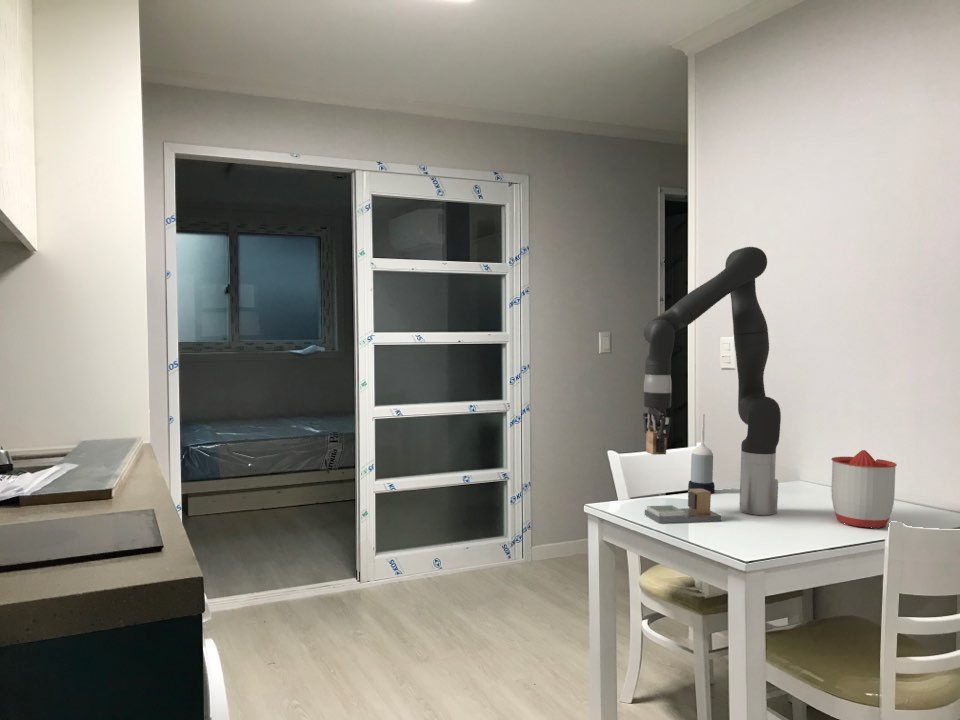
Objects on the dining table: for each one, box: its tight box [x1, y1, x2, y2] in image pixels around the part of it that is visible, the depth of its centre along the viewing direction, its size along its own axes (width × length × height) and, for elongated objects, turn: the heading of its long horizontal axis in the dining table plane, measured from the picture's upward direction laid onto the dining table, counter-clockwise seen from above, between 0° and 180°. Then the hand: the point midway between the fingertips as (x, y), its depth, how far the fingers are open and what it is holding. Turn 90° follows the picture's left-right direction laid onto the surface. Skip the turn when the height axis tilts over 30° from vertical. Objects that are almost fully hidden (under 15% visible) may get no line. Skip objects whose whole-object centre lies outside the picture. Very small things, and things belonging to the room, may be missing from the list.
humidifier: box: [687, 413, 715, 495], centre depth 233 cm, size 8×8×25 cm
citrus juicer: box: [831, 449, 897, 529], centre depth 196 cm, size 16×17×20 cm
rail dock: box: [644, 489, 722, 524], centre depth 197 cm, size 18×9×8 cm, turn 101°
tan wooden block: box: [645, 431, 668, 456], centre depth 204 cm, size 4×4×6 cm
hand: (656, 450), depth 204 cm, fingers closed on tan wooden block, 4 cm apart
